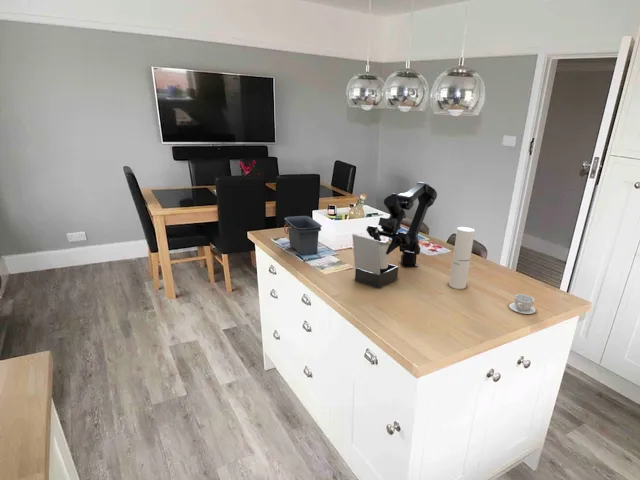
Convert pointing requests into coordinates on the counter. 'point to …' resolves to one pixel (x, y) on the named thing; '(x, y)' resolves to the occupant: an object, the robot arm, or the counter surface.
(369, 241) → the grey flat rectangular panel
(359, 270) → the dark grey open box
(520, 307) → the teacup
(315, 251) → the storage bin
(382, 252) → the white cup
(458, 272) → the cylindrical container
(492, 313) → the counter surface
